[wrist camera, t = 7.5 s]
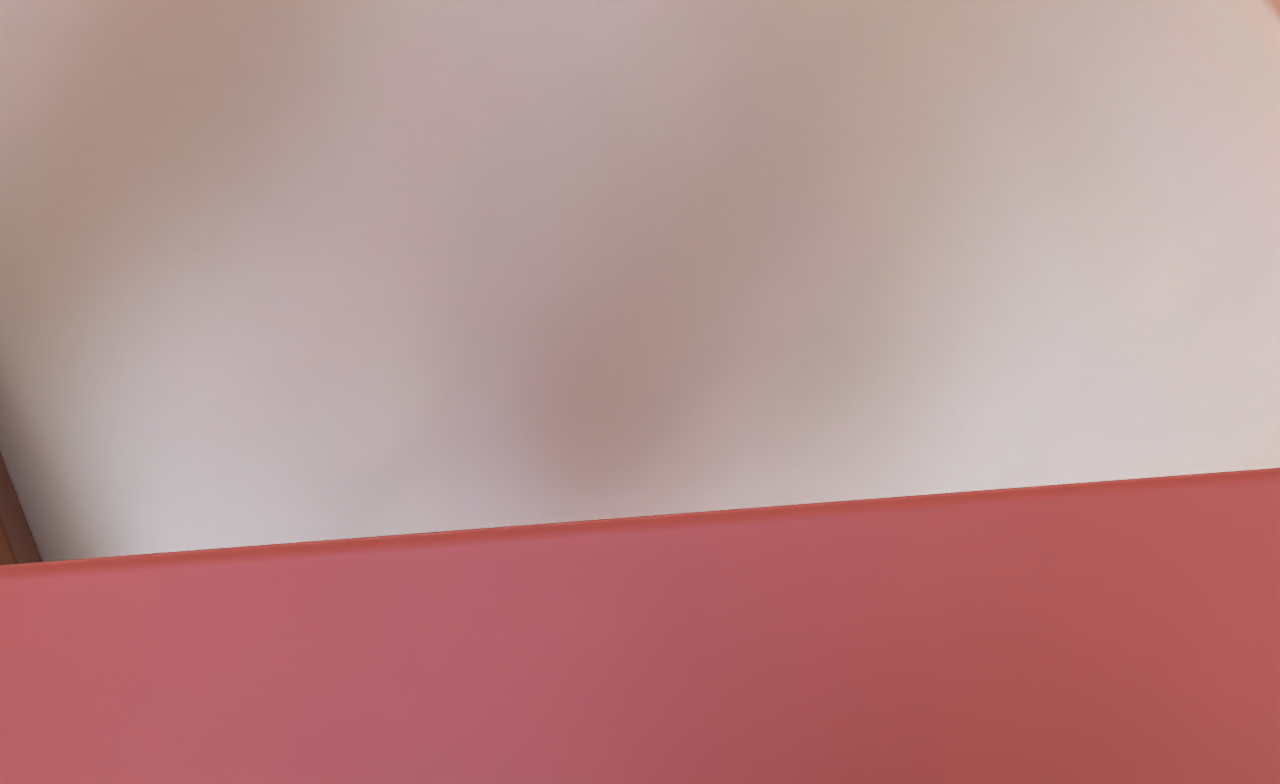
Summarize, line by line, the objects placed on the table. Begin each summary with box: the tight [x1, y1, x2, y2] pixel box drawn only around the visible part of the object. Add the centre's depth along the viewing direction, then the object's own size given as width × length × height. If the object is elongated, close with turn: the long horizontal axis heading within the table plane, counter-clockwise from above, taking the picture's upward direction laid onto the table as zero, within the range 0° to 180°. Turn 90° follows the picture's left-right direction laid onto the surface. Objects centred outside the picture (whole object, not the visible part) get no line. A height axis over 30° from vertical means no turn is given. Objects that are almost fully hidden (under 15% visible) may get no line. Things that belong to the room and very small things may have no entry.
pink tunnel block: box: [0, 468, 1280, 784], centre depth 9 cm, size 2×6×12 cm, turn 95°
